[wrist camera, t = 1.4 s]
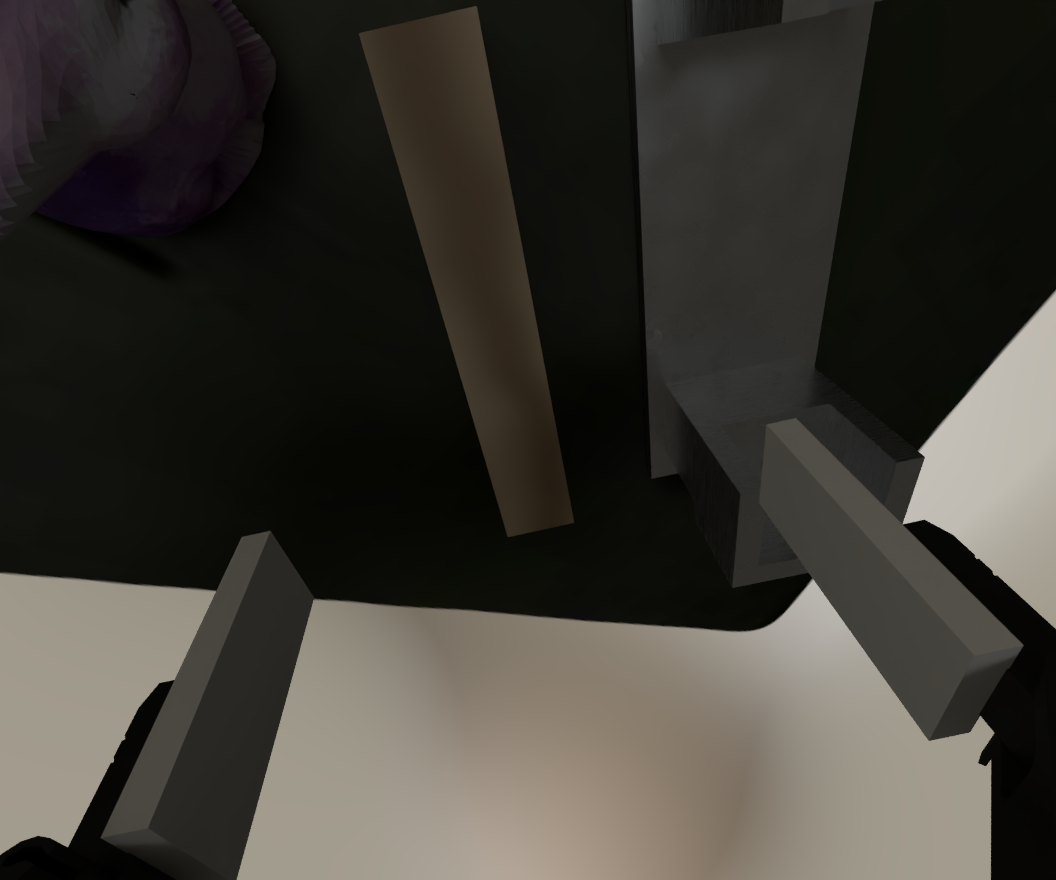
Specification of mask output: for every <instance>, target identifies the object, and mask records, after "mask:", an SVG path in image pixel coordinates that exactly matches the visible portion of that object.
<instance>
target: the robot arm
mask: <svg viewBox="0 0 1056 880" xmlns="http://www.w3.org/2000/svg"><path fill="white" fill-rule="evenodd" d="M759 504H760V505H761V507H762V508H763V509H764V511H765V512H766V514H767V515H768V516H769V518H770V519H771V521H772V522H773V523H774V525H775V526H776V528H777V529H778V530H779V532H780V533H781V535H782V536H783V537H784V539H785V540H786V542H787V543H788V544H789V546H790V547H791V549H792V550H793V551H794V553H795V554H796V556H797V557H798V558H799V560H800V561H801V563H802V564H803V565H804V567H805V568H806V570H807V571H808V572H809V574H810V575H811V577H812V578H813V579H814V580H815V582H816V583H817V585H818V586H819V588H820V589H821V591H822V592H823V593H824V595H825V596H826V597H827V599H828V600H829V602H830V603H831V605H832V606H833V607H834V609H835V610H836V611H837V613H838V614H839V616H840V617H841V618H842V620H843V621H844V622H845V624H846V626H847V627H848V628H849V630H850V631H851V632H852V634H853V635H854V637H855V638H856V640H857V641H858V642H859V644H860V645H861V646H862V648H863V649H864V650H865V652H866V654H867V655H868V656H869V658H870V659H871V661H872V662H873V663H874V665H875V666H876V667H877V669H878V670H879V671H880V673H881V674H882V676H883V677H884V679H885V680H886V681H887V683H888V684H889V686H890V687H891V688H892V690H893V691H894V693H895V694H896V695H897V697H898V698H899V700H900V701H901V702H902V704H903V705H904V707H905V708H906V709H907V711H908V712H909V714H910V715H911V716H912V718H913V719H914V721H915V722H916V723H917V725H918V726H919V728H920V729H921V730H922V732H923V733H924V735H925V736H926V737H927V739H928V740H929V741H930V740H935V739H940V738H945V737H949V736H954V735H959V734H964V733H969V732H970V731H971V730H972V728H973V727H974V725H975V723H976V721H977V720H978V718H979V717H980V716H981V717H982V718H983V719H984V720H985V722H986V723H987V724H988V725H989V726H990V728H991V729H992V730H993V731H994V733H995V734H994V735H993V736H992V738H991V739H990V741H989V743H988V744H987V745H986V747H985V749H984V750H983V751H982V753H981V756H980V759H979V762H978V763H979V764H982V765H984V766H986V765H987V764H988V762H989V761H990V760H991V773H992V774H991V880H1056V629H1055V628H1054V627H1053V626H1052V625H1051V624H1050V623H1048V622H1047V621H1046V620H1045V619H1044V618H1043V617H1042V616H1041V615H1039V614H1038V613H1037V612H1036V611H1035V610H1034V609H1033V608H1032V607H1031V606H1030V605H1029V604H1028V603H1027V602H1026V601H1024V600H1023V599H1022V598H1021V597H1020V596H1019V595H1018V594H1017V593H1016V592H1015V591H1013V590H1012V589H1011V588H1010V587H1009V586H1008V585H1007V584H1006V583H1005V582H1004V581H1003V580H1002V579H1000V578H999V577H998V576H994V575H993V573H992V570H991V569H990V568H988V567H987V566H986V565H985V564H984V563H983V562H982V561H980V559H976V558H975V555H974V554H973V553H972V552H971V551H970V550H969V549H968V548H967V547H966V546H964V545H963V544H962V543H961V542H960V541H959V540H958V539H957V538H956V537H955V536H954V535H952V534H950V533H948V532H946V531H944V530H943V529H941V528H939V527H937V526H935V525H933V524H931V523H930V522H928V521H926V520H922V521H917V522H912V523H908V524H903V525H902V524H901V523H900V522H899V521H898V520H897V519H896V518H895V517H894V516H893V515H892V514H891V513H890V512H889V511H888V510H887V509H886V508H885V507H884V506H883V505H882V504H881V503H880V502H879V501H878V500H877V499H876V498H875V497H874V496H873V495H872V494H871V493H870V492H869V491H868V490H867V489H866V488H865V487H864V486H863V485H862V484H861V483H860V482H859V481H858V480H857V479H856V478H855V477H854V476H853V475H852V474H851V473H850V472H849V471H848V470H847V469H846V468H845V467H844V466H843V465H842V464H841V463H840V462H839V461H838V460H837V459H836V458H835V457H834V456H833V455H832V454H831V453H830V452H829V451H828V450H827V449H826V448H825V447H824V446H823V445H822V444H821V443H820V442H819V441H818V440H817V439H816V438H815V437H814V436H813V435H812V434H811V433H810V432H809V431H808V430H807V429H806V428H805V427H804V426H803V425H802V424H801V423H800V422H799V421H798V420H797V419H796V418H794V419H790V420H785V421H780V422H776V423H771V424H767V425H766V435H765V445H764V456H763V466H762V476H761V487H760V497H759ZM313 600H314V597H313V595H312V594H311V592H310V591H309V589H308V588H307V586H306V585H305V583H304V582H303V580H302V579H301V577H300V575H299V574H298V572H297V571H296V569H295V568H294V566H293V565H292V563H291V562H290V560H289V559H288V557H287V555H286V554H285V552H284V551H283V549H282V548H281V546H280V545H279V543H278V542H277V540H276V539H275V537H274V536H273V534H272V532H271V531H268V532H263V533H258V534H254V535H249V536H244V537H242V538H241V540H240V542H239V544H238V546H237V548H236V551H235V553H234V555H233V557H232V559H231V561H230V563H229V565H228V568H227V570H226V572H225V574H224V576H223V578H222V580H221V582H220V585H219V587H218V589H217V591H216V593H215V595H214V597H213V600H212V602H211V604H210V606H209V608H208V610H207V613H206V614H205V617H204V619H203V621H202V623H201V625H200V627H199V629H198V631H197V634H196V636H195V638H194V640H193V642H192V644H191V646H190V649H189V651H188V653H187V655H186V657H185V659H184V662H183V664H182V666H181V668H180V670H179V672H178V674H177V676H176V678H175V680H172V681H168V682H163V683H159V684H158V686H157V687H156V688H155V689H154V690H153V692H152V693H151V694H150V695H149V696H148V698H147V699H146V700H145V701H144V702H143V704H142V705H141V706H140V707H139V708H138V710H137V712H136V714H135V716H134V719H133V720H132V722H131V724H130V726H129V728H128V730H127V732H126V734H125V740H123V741H122V742H121V744H120V746H119V748H118V750H117V752H116V754H115V756H114V762H113V763H111V764H110V766H109V768H108V769H107V772H106V773H105V776H104V777H103V780H102V781H101V783H100V785H99V787H98V790H97V791H96V794H95V795H94V797H93V799H92V801H91V803H90V806H89V807H88V809H87V811H86V813H85V815H84V817H83V819H82V821H81V823H80V825H79V827H78V829H77V831H76V833H75V835H74V837H73V839H72V841H71V843H70V845H69V847H66V846H64V845H62V844H60V843H58V842H56V841H54V840H52V839H51V838H46V837H40V836H37V837H34V838H31V839H27V840H24V841H21V842H20V843H18V844H16V845H15V846H13V847H12V848H10V849H9V850H7V851H6V852H4V853H3V854H1V855H0V880H236V879H237V876H238V872H239V869H240V865H241V861H242V858H243V854H244V850H245V847H246V843H247V840H248V836H249V832H250V829H251V825H252V821H253V818H254V814H255V810H256V807H257V803H258V800H259V796H260V792H261V789H262V785H263V781H264V778H265V774H266V771H267V767H268V763H269V760H270V756H271V752H272V748H273V745H274V741H275V738H276V734H277V730H278V727H279V723H280V720H281V716H282V712H283V709H284V705H285V701H286V698H287V694H288V691H289V687H290V683H291V679H292V676H293V672H294V668H295V665H296V661H297V657H298V654H299V651H300V646H301V643H302V640H303V636H304V632H305V628H306V625H307V621H308V617H309V614H310V611H311V607H312V603H313Z"/></svg>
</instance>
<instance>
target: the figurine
mask: <svg viewBox="0 0 1056 880" xmlns="http://www.w3.org/2000/svg"><path fill="white" fill-rule="evenodd" d="M275 80H276V61H275V59H274V57H273V55H272V54H271V50H270V48H269V46H268V45H267V44H266V42H265V41H264V40H263V39H262V38H261V36H260V35H259V34H257V33H256V32H255V28H253V27H251V26H250V24H249V21H248V20H246V19H244V15H243V14H242V13H240V12H239V11H238V8H237V7H236V6H235V5H234V4H233V3H232V0H0V242H1V241H2V240H3V239H4V238H5V237H6V236H7V235H8V234H10V233H11V232H12V231H13V230H14V229H15V228H16V227H17V226H18V225H19V224H21V223H22V222H23V221H24V220H25V219H26V218H27V217H28V216H29V215H31V214H32V213H33V212H34V211H37V212H39V213H41V214H43V215H45V216H47V217H50V218H53V219H56V220H58V221H61V222H64V223H67V224H70V225H74V226H78V227H81V228H85V229H89V230H93V231H99V232H106V233H115V234H123V235H131V236H139V237H148V238H150V237H158V236H167V235H172V234H175V233H178V232H180V231H182V230H184V229H185V228H187V227H189V226H190V225H192V224H194V223H195V222H197V221H198V220H200V219H201V218H203V217H205V216H206V215H208V214H210V213H212V212H213V211H215V210H217V209H218V208H219V207H220V206H222V205H223V204H225V203H226V201H227V200H228V199H229V198H230V196H231V195H232V194H233V193H234V192H235V190H236V189H237V188H238V187H239V186H240V184H241V183H242V182H243V181H244V180H245V178H246V177H247V176H248V174H249V173H250V171H251V169H252V168H253V166H254V164H255V161H256V160H257V159H258V157H259V154H260V152H261V151H262V143H263V135H264V125H265V123H263V115H262V113H263V111H264V110H265V108H266V103H267V101H268V98H269V95H270V94H271V92H272V89H273V86H274V83H275Z"/></svg>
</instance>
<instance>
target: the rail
mask: <svg viewBox="0 0 1056 880" xmlns="http://www.w3.org/2000/svg"><path fill="white" fill-rule="evenodd" d="M359 36H360V39H361V42H362V46H363V49H364V53H365V56H366V59H367V63H368V66H369V69H370V73H371V76H372V80H373V83H374V86H375V90H376V93H377V96H378V100H379V103H380V107H381V110H382V113H383V117H384V120H385V123H386V127H387V130H388V134H389V137H390V140H391V144H392V147H393V150H394V154H395V157H396V161H397V164H398V167H399V171H400V174H401V178H402V181H403V184H404V188H405V191H406V194H407V198H408V201H409V205H410V208H411V211H412V215H413V218H414V221H415V225H416V228H417V232H418V235H419V238H420V242H421V245H422V248H423V252H424V255H425V259H426V262H427V265H428V269H429V272H430V276H431V279H432V282H433V286H434V289H435V292H436V296H437V299H438V303H439V306H440V309H441V313H442V316H443V319H444V323H445V326H446V330H447V333H448V336H449V340H450V343H451V346H452V350H453V353H454V357H455V360H456V363H457V367H458V370H459V373H460V377H461V380H462V384H463V387H464V390H465V394H466V397H467V401H468V404H469V407H470V411H471V414H472V417H473V421H474V424H475V428H476V431H477V434H478V438H479V441H480V444H481V448H482V451H483V455H484V458H485V461H486V465H487V468H488V471H489V475H490V478H491V482H492V485H493V488H494V492H495V495H496V499H497V502H498V505H499V509H500V512H501V515H502V519H503V522H504V526H505V529H506V532H507V536H508V537H511V536H515V535H520V534H524V533H529V532H534V531H538V530H543V529H547V528H552V527H557V526H561V525H566V524H570V523H574V519H573V514H572V509H571V504H570V498H569V493H568V488H567V482H566V477H565V472H564V467H563V461H562V456H561V451H560V445H559V440H558V435H557V429H556V424H555V419H554V414H553V408H552V403H551V398H550V392H549V387H548V382H547V377H546V371H545V366H544V361H543V355H542V350H541V345H540V339H539V334H538V329H537V324H536V318H535V313H534V308H533V302H532V297H531V292H530V287H529V281H528V276H527V271H526V265H525V260H524V255H523V249H522V244H521V239H520V234H519V228H518V223H517V218H516V212H515V207H514V202H513V197H512V191H511V186H510V181H509V175H508V170H507V165H506V159H505V154H504V149H503V144H502V138H501V133H500V128H499V122H498V117H497V112H496V107H495V101H494V96H493V91H492V85H491V80H490V75H489V69H488V64H487V59H486V54H485V48H484V43H483V38H482V32H481V27H480V22H479V17H478V11H477V6H475V7H471V8H466V9H462V10H458V11H453V12H449V13H445V14H440V15H436V16H432V17H427V18H423V19H419V20H414V21H410V22H406V23H402V24H397V25H393V26H389V27H384V28H380V29H376V30H371V31H367V32H363V33H359Z"/></svg>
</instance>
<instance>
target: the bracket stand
mask: <svg viewBox="0 0 1056 880" xmlns="http://www.w3.org/2000/svg"><path fill="white" fill-rule="evenodd" d="M625 1H626V23H627V44H628V66H629V87H630V109H631V131H632V152H633V174H634V195H635V217H636V239H637V260H638V282H639V303H640V325H641V347H642V368H643V390H644V411H645V433H646V454H647V470H648V472H649V474H650V476H651V478H657V477H662V476H667V475H672V474H677V473H678V474H679V475H680V477H681V479H682V481H683V482H684V484H685V486H686V488H687V490H688V491H689V493H690V495H691V497H692V498H693V500H694V502H695V520H696V522H697V524H698V525H699V527H700V529H701V531H702V533H703V535H704V537H705V538H706V540H707V542H708V544H709V546H710V548H711V549H712V551H713V553H714V555H715V557H716V559H717V561H718V562H719V564H720V566H721V568H722V570H723V572H724V574H725V575H726V577H727V579H728V581H729V583H730V585H731V586H732V588H734V587H739V586H744V585H749V584H754V583H759V582H764V581H769V580H774V579H779V578H784V577H789V576H794V575H799V574H804V573H809V572H808V571H807V570H806V568H805V567H804V565H803V564H802V563H801V561H800V560H799V558H798V557H797V556H796V554H795V553H794V551H793V550H792V549H791V547H790V546H789V544H788V543H787V542H786V540H785V539H784V537H783V536H782V535H781V533H780V532H779V530H778V529H777V528H776V526H775V525H774V523H773V522H772V521H771V519H770V518H769V516H768V515H767V514H766V512H765V511H764V509H763V508H762V507H761V505H760V504H759V497H760V487H761V476H762V466H763V456H764V445H765V435H766V425H767V424H771V423H776V422H780V421H785V420H790V419H794V418H796V419H797V420H798V421H799V422H800V423H801V424H802V425H803V426H804V427H805V428H806V429H807V430H808V431H809V432H810V433H811V434H812V435H813V436H814V437H815V438H816V439H817V440H818V441H819V442H820V443H821V444H822V445H823V446H824V447H825V448H826V449H827V450H828V451H829V452H830V453H831V454H832V455H833V456H834V457H835V458H836V459H837V460H838V461H839V462H840V463H841V464H842V465H843V466H844V467H845V468H846V469H847V470H848V471H849V472H850V473H851V474H852V475H853V476H854V477H855V478H856V479H857V480H858V481H859V482H860V483H861V484H862V485H863V486H864V487H865V488H866V489H867V490H868V491H869V492H870V493H871V494H872V495H873V496H874V497H875V498H876V499H877V500H878V501H879V502H880V503H881V504H882V505H883V506H884V507H885V508H886V509H887V510H888V511H889V512H890V513H891V514H892V515H893V516H894V517H895V518H896V519H897V520H898V521H899V522H900V523H901V524H903V521H904V518H905V515H906V512H907V509H908V505H909V503H910V500H911V497H912V494H913V491H914V488H915V485H916V482H917V479H918V476H919V473H920V470H921V467H922V464H923V461H924V458H925V457H924V456H923V455H922V454H920V453H919V452H918V451H917V450H916V449H914V448H913V447H912V446H911V445H909V444H908V443H907V442H906V441H904V440H903V439H902V438H901V437H899V436H898V435H897V434H896V433H894V432H893V431H892V430H891V429H889V428H888V427H887V426H886V425H885V424H883V423H882V422H881V421H880V420H878V419H877V418H876V417H875V416H873V415H872V414H871V413H870V412H868V411H867V410H866V409H865V408H863V407H862V406H861V405H860V404H858V403H857V402H856V401H855V400H854V399H852V398H851V397H850V396H849V395H847V394H846V393H845V392H844V391H842V390H841V389H840V388H839V387H837V386H836V385H835V384H834V383H832V382H831V381H830V380H829V379H827V378H826V377H825V376H824V375H823V374H821V373H820V372H819V371H818V370H816V369H815V368H814V366H815V360H816V354H817V348H818V342H819V336H820V330H821V324H822V317H823V311H824V305H825V299H826V293H827V287H828V281H829V275H830V269H831V263H832V257H833V250H834V244H835V238H836V232H837V226H838V220H839V214H840V208H841V202H842V196H843V190H844V183H845V177H846V171H847V165H848V159H849V153H850V147H851V141H852V135H853V129H854V123H855V116H856V110H857V104H858V98H859V92H860V86H861V80H862V74H863V68H864V62H865V56H866V49H867V43H868V37H869V31H870V25H871V19H872V13H873V7H874V2H877V1H882V0H625Z"/></svg>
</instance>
